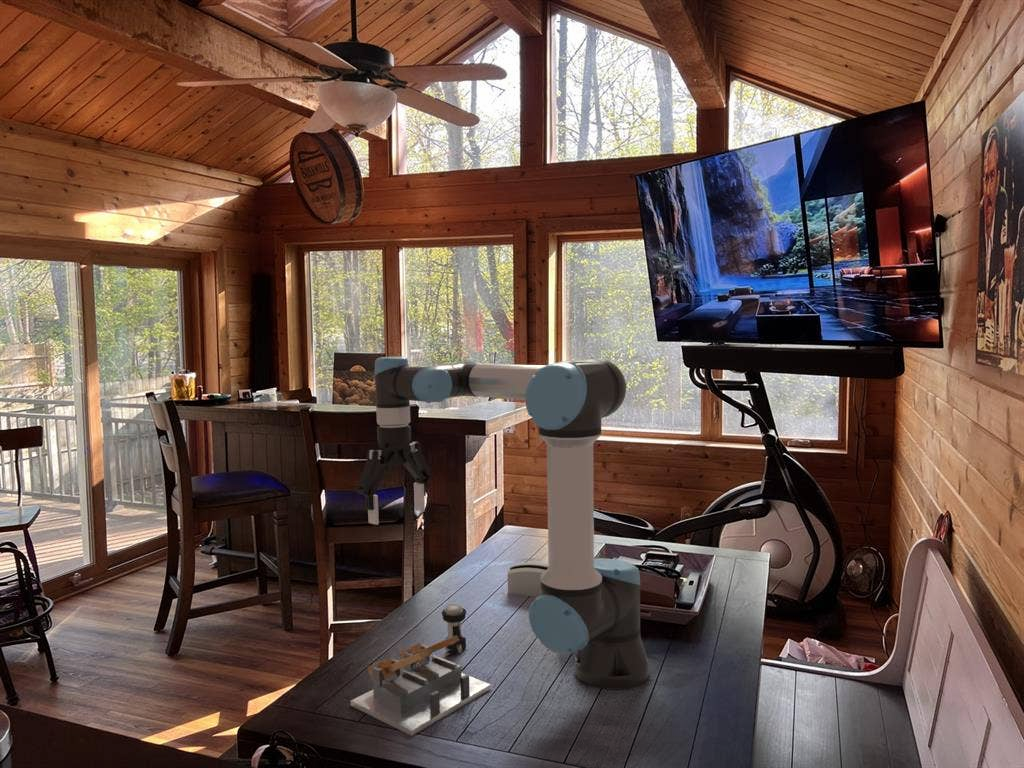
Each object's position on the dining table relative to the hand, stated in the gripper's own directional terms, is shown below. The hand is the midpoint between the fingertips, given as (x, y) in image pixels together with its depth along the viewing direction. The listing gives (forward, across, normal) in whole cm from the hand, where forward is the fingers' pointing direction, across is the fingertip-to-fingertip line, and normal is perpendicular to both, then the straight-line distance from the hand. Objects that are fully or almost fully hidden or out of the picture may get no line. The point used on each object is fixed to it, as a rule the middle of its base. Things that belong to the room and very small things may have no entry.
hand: (397, 517), depth 175 cm
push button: (+28, -1, +16) cm, 32 cm away
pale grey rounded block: (+28, -38, +9) cm, 49 cm away
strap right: (+21, +13, +25) cm, 35 cm away
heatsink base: (+28, +17, +26) cm, 41 cm away
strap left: (+21, +21, +25) cm, 39 cm away
